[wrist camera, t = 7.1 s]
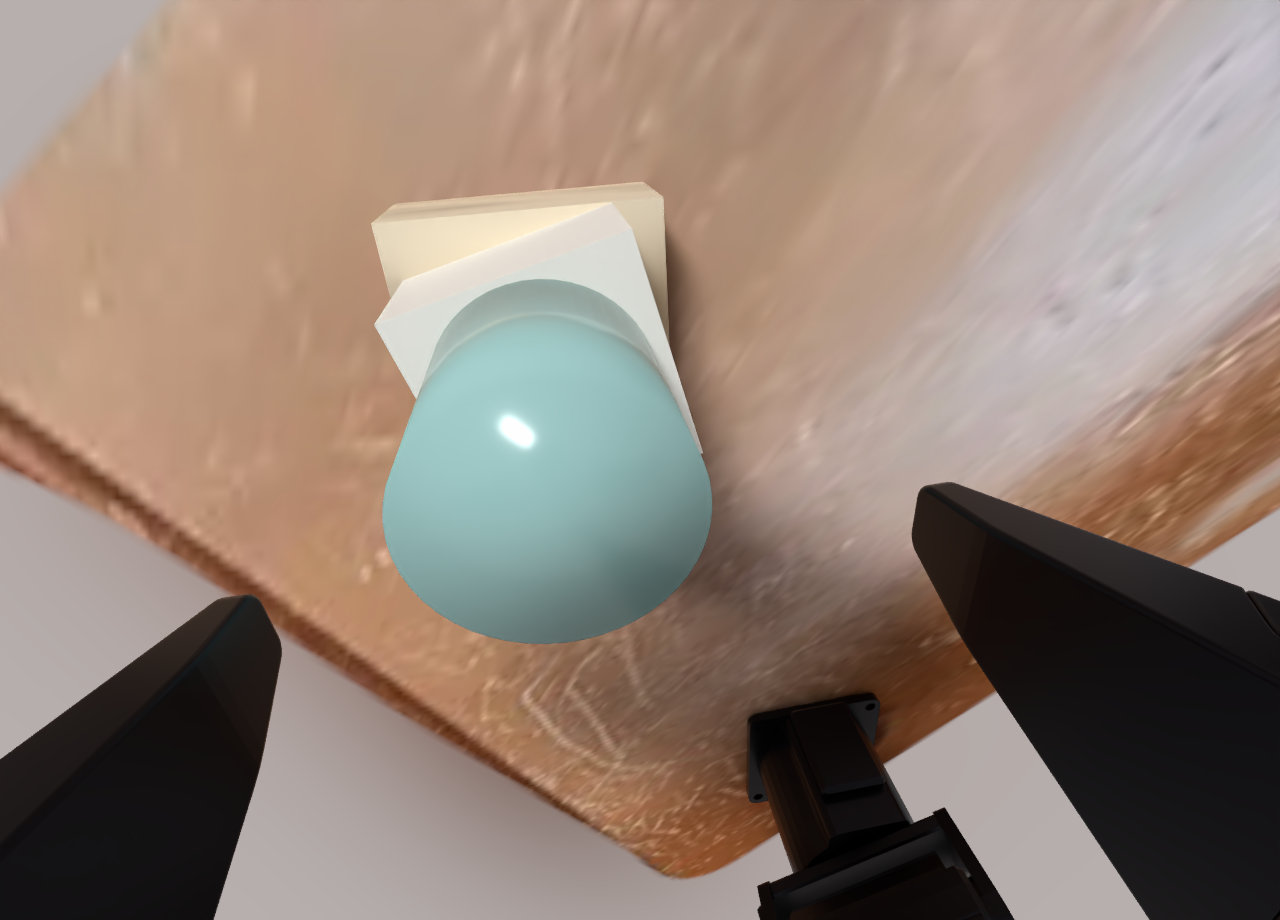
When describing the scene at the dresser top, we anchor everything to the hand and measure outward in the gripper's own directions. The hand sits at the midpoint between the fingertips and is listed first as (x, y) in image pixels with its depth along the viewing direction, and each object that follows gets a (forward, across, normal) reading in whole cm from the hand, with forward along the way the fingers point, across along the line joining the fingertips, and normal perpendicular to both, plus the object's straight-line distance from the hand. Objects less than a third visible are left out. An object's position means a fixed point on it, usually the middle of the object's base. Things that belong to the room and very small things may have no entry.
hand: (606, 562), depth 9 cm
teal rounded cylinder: (+6, +1, 0) cm, 6 cm away
